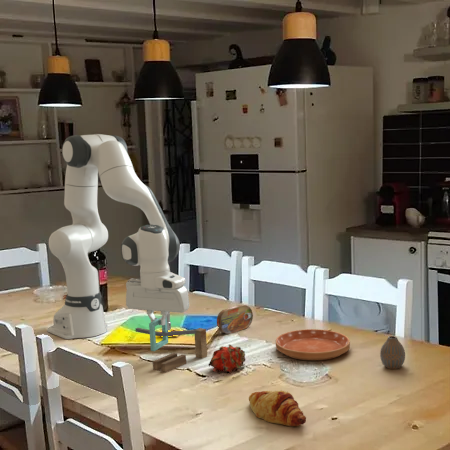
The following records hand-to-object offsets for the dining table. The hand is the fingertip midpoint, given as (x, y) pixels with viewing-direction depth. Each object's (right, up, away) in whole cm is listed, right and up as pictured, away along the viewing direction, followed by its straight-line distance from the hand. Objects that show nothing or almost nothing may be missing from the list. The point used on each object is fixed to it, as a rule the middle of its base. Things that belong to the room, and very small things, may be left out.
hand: (158, 324), depth 208 cm
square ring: (0, -7, +1) cm, 7 cm away
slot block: (+4, -13, -5) cm, 14 cm away
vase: (+68, -11, -11) cm, 70 cm away
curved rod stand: (+5, -11, +5) cm, 13 cm away
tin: (+24, -7, +31) cm, 40 cm away
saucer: (+47, -9, +7) cm, 49 cm away
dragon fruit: (+21, -13, -9) cm, 26 cm away
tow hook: (+2, -8, +31) cm, 32 cm away
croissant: (+33, -17, -40) cm, 54 cm away
